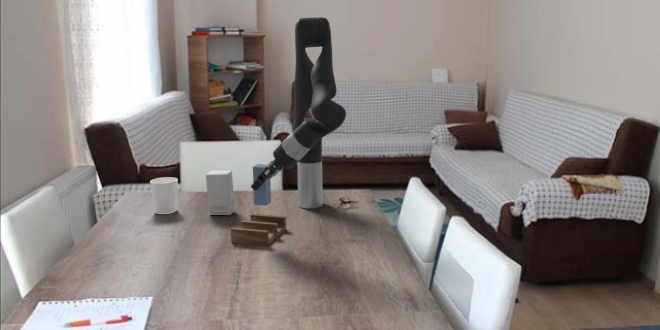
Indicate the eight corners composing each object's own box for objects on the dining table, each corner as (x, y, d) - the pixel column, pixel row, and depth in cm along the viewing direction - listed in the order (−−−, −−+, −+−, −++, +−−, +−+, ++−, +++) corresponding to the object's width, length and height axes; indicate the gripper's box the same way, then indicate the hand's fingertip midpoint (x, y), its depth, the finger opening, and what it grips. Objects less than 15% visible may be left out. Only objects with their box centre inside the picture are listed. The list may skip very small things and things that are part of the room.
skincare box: (235, 211, 217) (233, 170, 213) (230, 216, 210) (228, 174, 207) (213, 210, 217) (210, 169, 214) (207, 216, 211) (205, 173, 208)
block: (259, 201, 186) (257, 164, 183) (271, 202, 184) (269, 164, 182) (254, 204, 182) (252, 166, 179) (266, 205, 181) (264, 167, 178)
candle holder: (150, 210, 219) (148, 178, 217) (177, 206, 223) (175, 176, 221) (154, 217, 211) (152, 184, 208) (182, 213, 215) (180, 181, 212)
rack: (252, 226, 199) (252, 213, 198) (286, 229, 196) (285, 216, 195) (231, 242, 184) (230, 228, 183) (267, 246, 180) (266, 232, 179)
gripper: (291, 137, 183) (256, 172, 189) (275, 145, 170) (238, 183, 176) (307, 154, 183) (272, 189, 189) (292, 164, 170) (255, 201, 176)
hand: (256, 186), depth 182 cm, fingers closed on block, 4 cm apart
